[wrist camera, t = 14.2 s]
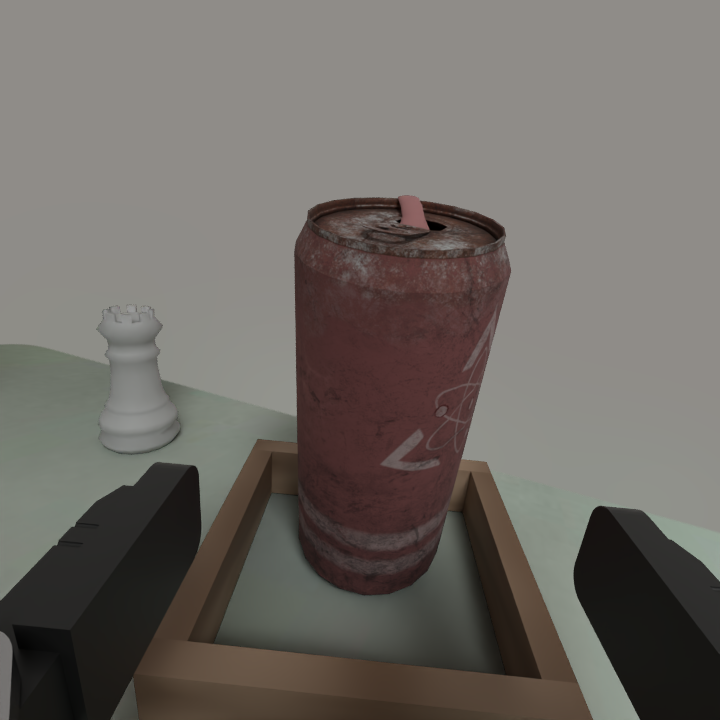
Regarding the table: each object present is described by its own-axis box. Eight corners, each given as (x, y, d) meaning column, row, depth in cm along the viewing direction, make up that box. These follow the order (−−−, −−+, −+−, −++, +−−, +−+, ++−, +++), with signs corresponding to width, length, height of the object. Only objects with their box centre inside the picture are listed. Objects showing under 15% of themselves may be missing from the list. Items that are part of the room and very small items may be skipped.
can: (420, 477, 22) (477, 195, 15) (450, 600, 17) (562, 255, 9) (302, 477, 22) (300, 185, 14) (295, 605, 16) (285, 242, 9)
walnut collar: (141, 735, 12) (133, 673, 11) (257, 479, 23) (257, 439, 22) (570, 782, 12) (594, 723, 11) (477, 501, 23) (486, 461, 22)
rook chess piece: (156, 413, 29) (146, 297, 26) (196, 436, 27) (189, 312, 24) (85, 437, 26) (65, 307, 23) (124, 466, 23) (107, 326, 21)
